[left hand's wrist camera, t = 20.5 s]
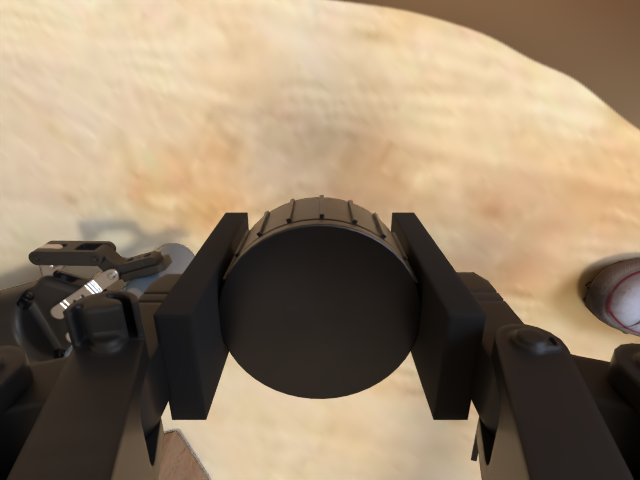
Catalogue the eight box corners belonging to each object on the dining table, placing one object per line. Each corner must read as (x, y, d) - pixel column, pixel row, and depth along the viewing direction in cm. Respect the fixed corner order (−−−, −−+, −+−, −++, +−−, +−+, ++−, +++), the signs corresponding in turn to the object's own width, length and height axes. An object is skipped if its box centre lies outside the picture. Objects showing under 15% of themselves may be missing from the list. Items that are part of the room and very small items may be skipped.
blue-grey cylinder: (199, 248, 41) (128, 347, 26) (193, 284, 42) (123, 398, 27) (156, 238, 40) (58, 333, 25) (152, 275, 42) (58, 385, 27)
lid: (208, 307, 13) (184, 355, 10) (280, 161, 11) (270, 182, 9) (351, 370, 13) (357, 426, 11) (439, 245, 12) (466, 282, 10)
